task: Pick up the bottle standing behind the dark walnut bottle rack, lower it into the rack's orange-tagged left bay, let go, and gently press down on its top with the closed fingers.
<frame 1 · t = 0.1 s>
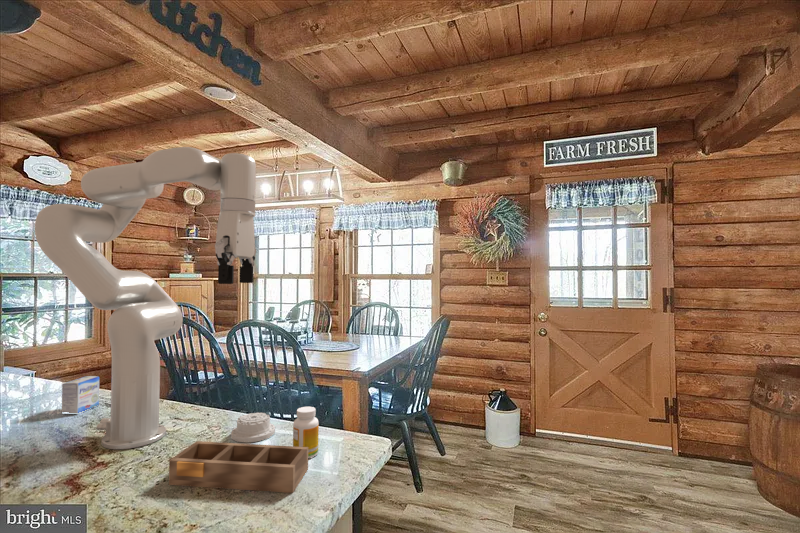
hand: (236, 283, 93), 37 cm above the kitchen island, tool pointing down, fingers open, 9 cm apart
medicine box: (80, 411, 113), on the kitchen island
bottle rack: (241, 477, 77), on the kitchen island
mechanical component: (253, 436, 98), on the kitchen island
supplement bottle: (305, 455, 87), on the kitchen island
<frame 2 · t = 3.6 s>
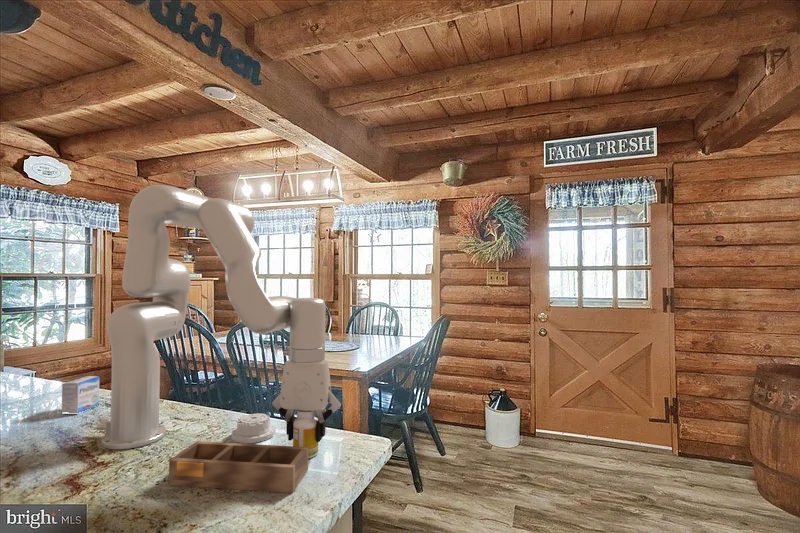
hand: (305, 437, 87), 4 cm above the kitchen island, tool pointing down, fingers closed on supplement bottle, 5 cm apart
supplement bottle: (305, 455, 87), on the kitchen island, touching gripper
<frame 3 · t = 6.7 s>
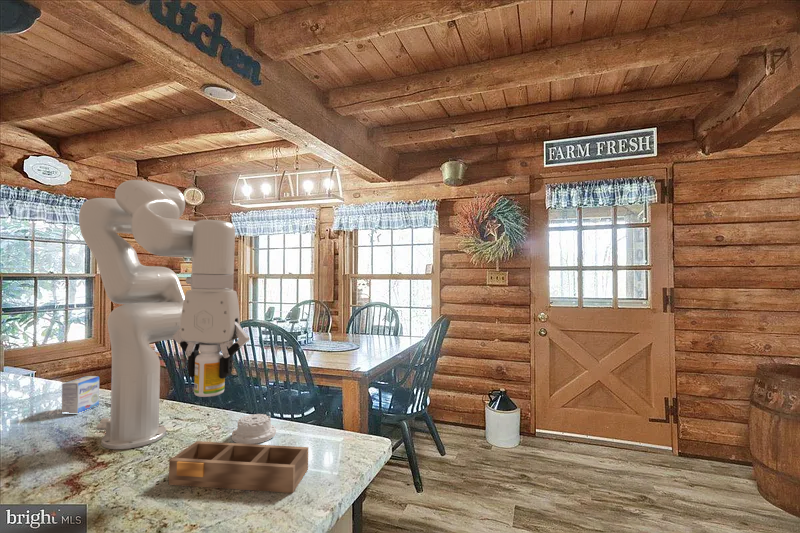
hand: (210, 375, 79), 19 cm above the kitchen island, tool pointing down, fingers closed on supplement bottle, 5 cm apart
supplement bottle: (209, 394, 79), point 15 cm above the kitchen island, touching gripper
when the fingers open (6 cm above the kitchen island, at t = 9.8 s): supplement bottle drops 1 cm, resting on bottle rack.
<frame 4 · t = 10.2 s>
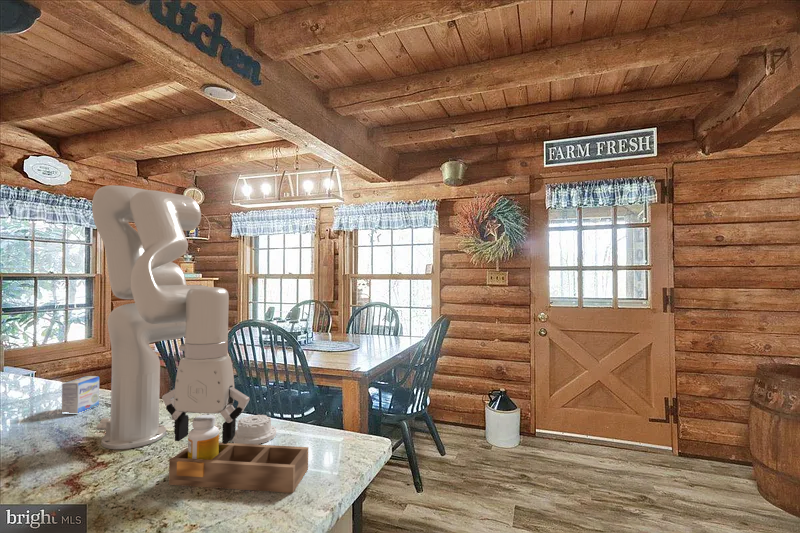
hand: (204, 439, 78), 7 cm above the kitchen island, tool pointing down, fingers open, 9 cm apart
supplement bottle: (203, 469, 78), point 1 cm above the kitchen island, touching bottle rack
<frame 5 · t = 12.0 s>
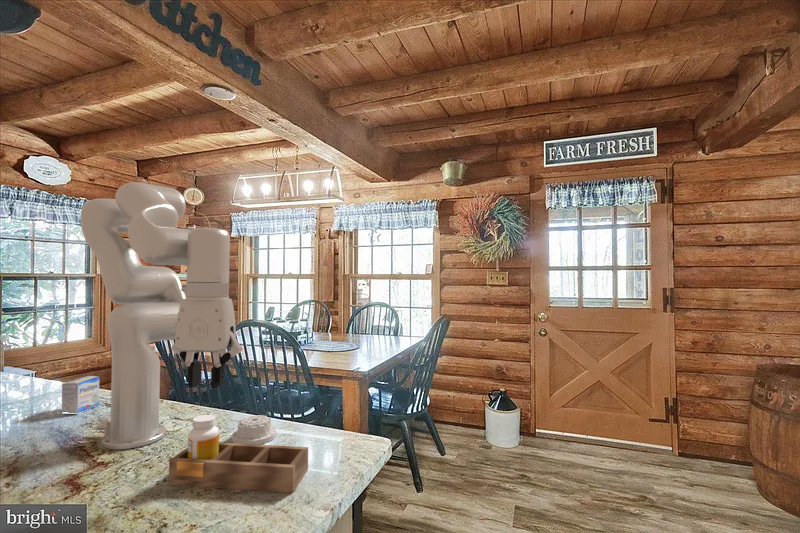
hand: (206, 385, 78), 17 cm above the kitchen island, tool pointing down, fingers open, 3 cm apart
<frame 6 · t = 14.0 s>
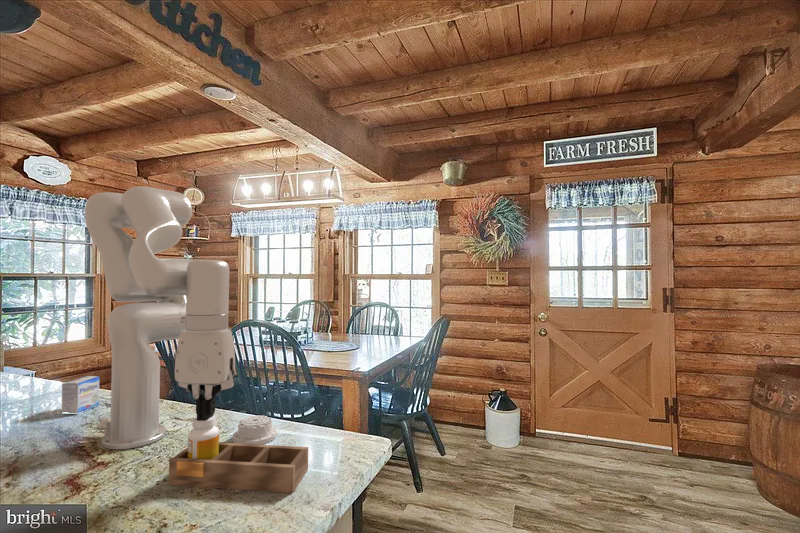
hand: (205, 417, 78), 11 cm above the kitchen island, tool pointing down, fingers closed
supplement bottle: (203, 469, 78), point 1 cm above the kitchen island, touching bottle rack, gripper
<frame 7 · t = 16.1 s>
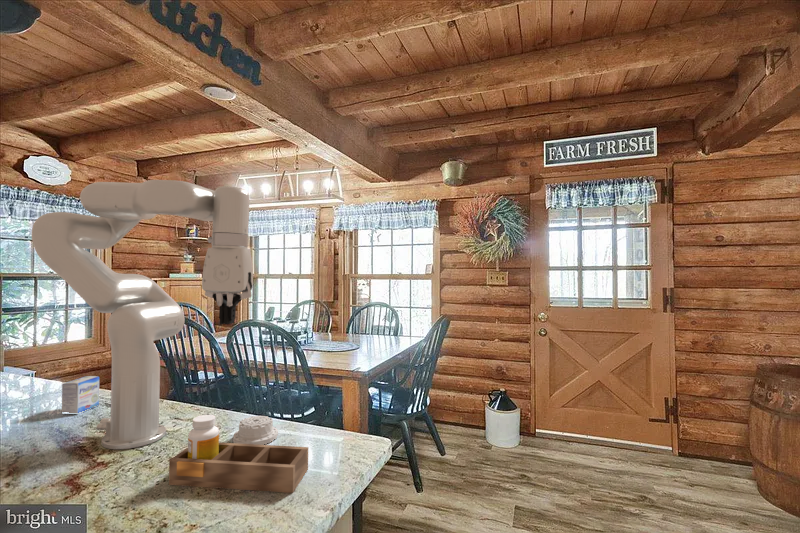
hand: (227, 323, 91), 28 cm above the kitchen island, tool pointing down, fingers closed
supplement bottle: (203, 469, 78), point 1 cm above the kitchen island, touching bottle rack
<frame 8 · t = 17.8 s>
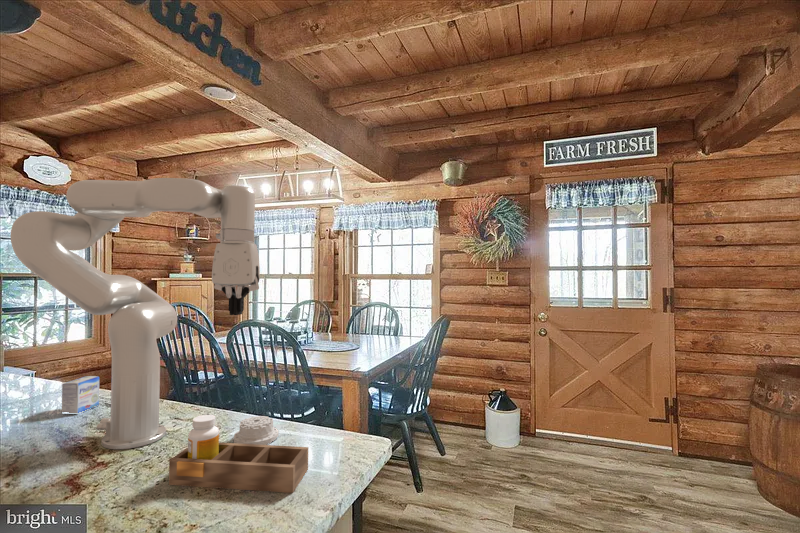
hand: (236, 314, 97), 29 cm above the kitchen island, tool pointing down, fingers closed
at the end: supplement bottle 0.2 cm from the target spot on the bottle rack, point 1.0 cm above the bottle rack's base; supplement bottle tilted 0°; the gripper is holding nothing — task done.
